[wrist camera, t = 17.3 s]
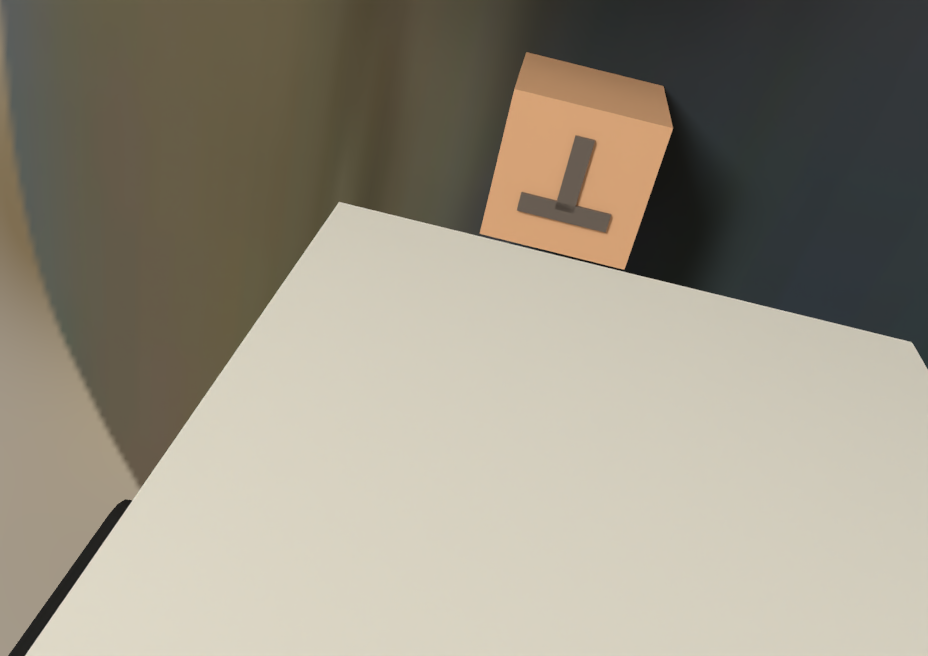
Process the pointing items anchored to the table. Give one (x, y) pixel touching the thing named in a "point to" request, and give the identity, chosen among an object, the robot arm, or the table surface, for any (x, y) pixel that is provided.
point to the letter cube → (577, 161)
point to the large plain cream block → (523, 472)
